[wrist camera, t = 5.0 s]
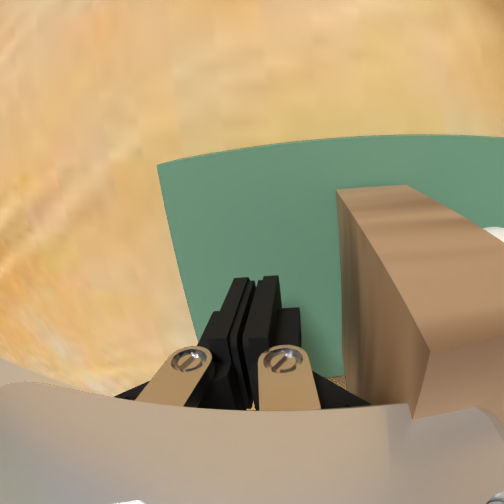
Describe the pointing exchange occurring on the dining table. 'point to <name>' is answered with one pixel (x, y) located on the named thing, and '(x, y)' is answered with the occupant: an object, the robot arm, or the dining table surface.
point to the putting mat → (309, 216)
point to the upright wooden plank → (420, 303)
